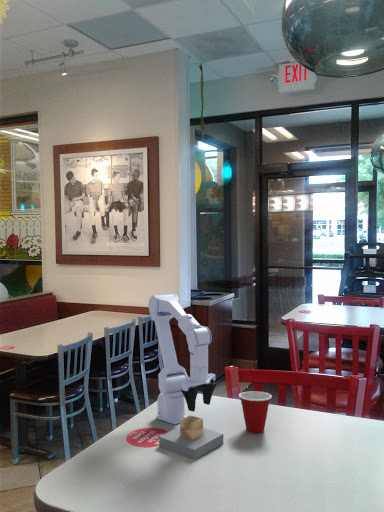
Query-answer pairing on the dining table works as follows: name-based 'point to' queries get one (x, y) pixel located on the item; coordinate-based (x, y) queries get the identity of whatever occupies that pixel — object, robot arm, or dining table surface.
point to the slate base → (191, 443)
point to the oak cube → (191, 427)
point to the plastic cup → (255, 410)
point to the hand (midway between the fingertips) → (199, 407)
